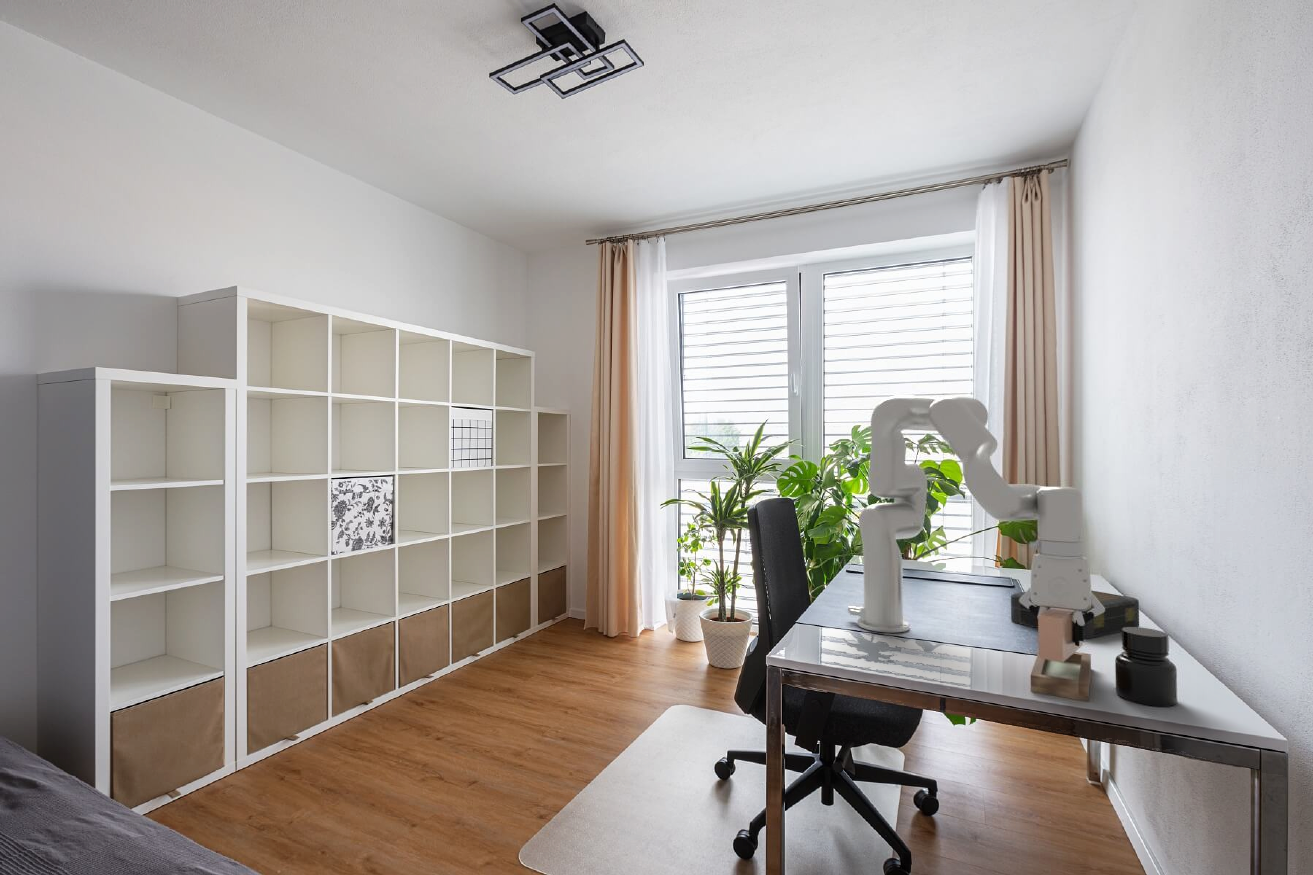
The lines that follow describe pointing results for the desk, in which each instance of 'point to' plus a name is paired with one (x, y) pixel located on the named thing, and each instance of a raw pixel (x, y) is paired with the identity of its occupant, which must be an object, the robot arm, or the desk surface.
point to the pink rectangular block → (1057, 634)
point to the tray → (1063, 677)
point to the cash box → (1111, 621)
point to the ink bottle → (1146, 668)
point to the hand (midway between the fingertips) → (1061, 641)
